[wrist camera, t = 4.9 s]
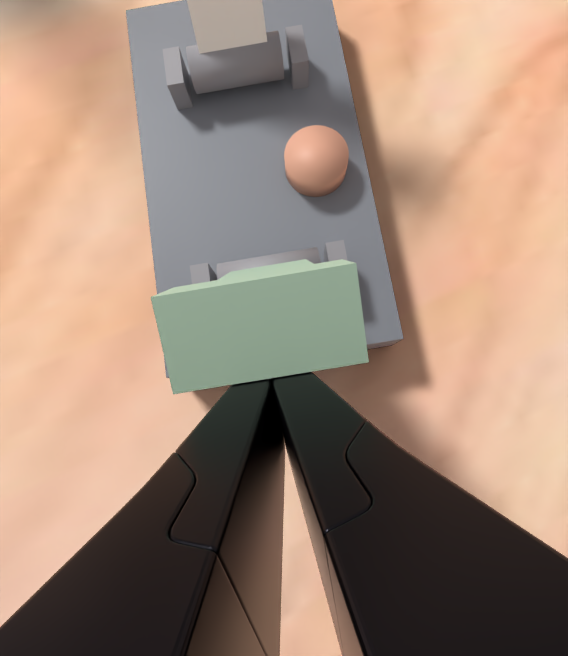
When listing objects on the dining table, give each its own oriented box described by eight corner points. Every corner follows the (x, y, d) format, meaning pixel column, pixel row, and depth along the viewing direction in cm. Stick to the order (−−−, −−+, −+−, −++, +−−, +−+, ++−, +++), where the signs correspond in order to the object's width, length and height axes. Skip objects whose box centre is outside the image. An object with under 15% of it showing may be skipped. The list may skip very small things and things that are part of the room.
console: (391, 345, 21) (413, 333, 17) (182, 379, 21) (153, 375, 17) (324, 16, 25) (328, -60, 20) (143, 48, 25) (111, -21, 21)
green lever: (320, 289, 19) (391, 363, 7) (228, 304, 19) (152, 402, 8) (314, 246, 19) (378, 253, 7) (220, 262, 19) (126, 295, 7)
